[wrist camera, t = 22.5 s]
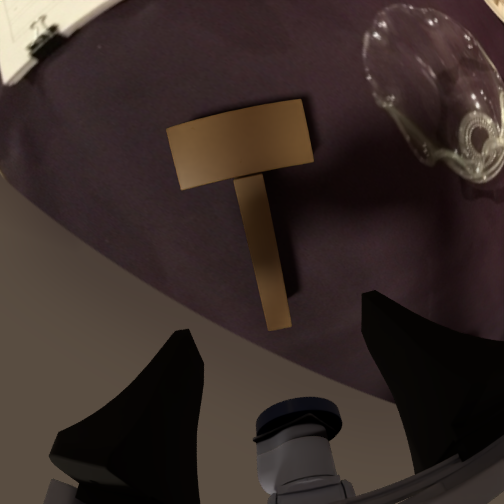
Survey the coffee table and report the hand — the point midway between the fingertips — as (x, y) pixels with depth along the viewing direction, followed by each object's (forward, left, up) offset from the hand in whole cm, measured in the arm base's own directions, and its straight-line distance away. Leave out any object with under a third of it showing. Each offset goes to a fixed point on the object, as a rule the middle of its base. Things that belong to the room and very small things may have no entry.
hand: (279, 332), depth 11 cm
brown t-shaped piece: (+1, +2, -9) cm, 10 cm away
